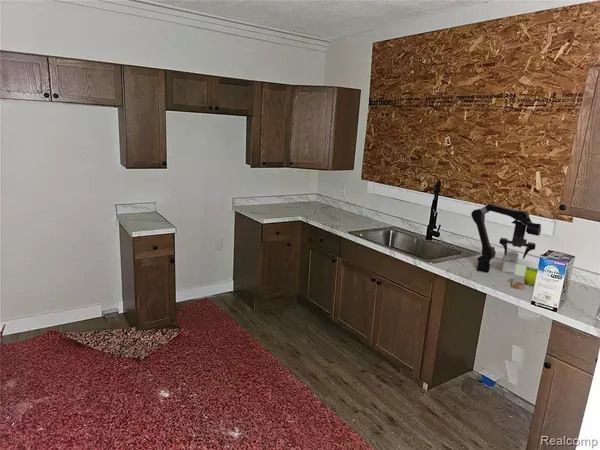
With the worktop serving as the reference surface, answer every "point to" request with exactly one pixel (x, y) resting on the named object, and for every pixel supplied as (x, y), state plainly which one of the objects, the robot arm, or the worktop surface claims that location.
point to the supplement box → (509, 261)
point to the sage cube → (520, 270)
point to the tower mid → (519, 278)
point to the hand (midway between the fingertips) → (514, 257)
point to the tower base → (518, 285)
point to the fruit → (530, 276)
